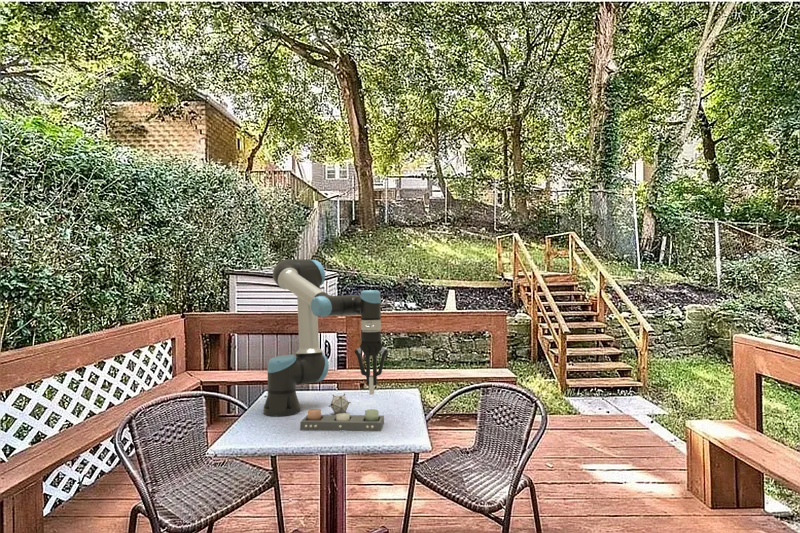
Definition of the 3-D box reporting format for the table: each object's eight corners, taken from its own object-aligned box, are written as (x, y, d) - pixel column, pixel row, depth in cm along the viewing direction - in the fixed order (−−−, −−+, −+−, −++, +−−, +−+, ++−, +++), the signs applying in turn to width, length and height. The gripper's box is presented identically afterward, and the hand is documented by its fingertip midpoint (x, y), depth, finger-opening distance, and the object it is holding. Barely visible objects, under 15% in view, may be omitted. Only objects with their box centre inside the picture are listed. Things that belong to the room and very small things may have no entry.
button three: (306, 422, 207) (306, 411, 207) (309, 418, 212) (309, 408, 212) (319, 422, 207) (319, 412, 207) (322, 418, 212) (322, 408, 212)
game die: (342, 423, 227) (345, 407, 221) (324, 415, 229) (326, 399, 223) (351, 409, 234) (355, 392, 229) (333, 401, 236) (336, 385, 230)
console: (299, 430, 204) (299, 422, 204) (307, 422, 215) (307, 414, 215) (380, 431, 202) (380, 423, 202) (384, 423, 213) (383, 415, 213)
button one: (335, 426, 206) (335, 416, 207) (337, 422, 211) (337, 412, 212) (348, 426, 206) (348, 416, 206) (350, 423, 211) (350, 413, 211)
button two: (364, 422, 206) (364, 412, 206) (366, 419, 211) (366, 409, 211) (377, 422, 205) (377, 412, 205) (379, 419, 210) (379, 409, 210)
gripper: (352, 332, 205) (353, 395, 205) (387, 331, 204) (388, 395, 204) (355, 330, 213) (356, 391, 212) (389, 330, 212) (390, 391, 211)
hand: (371, 393), depth 208 cm, fingers closed
